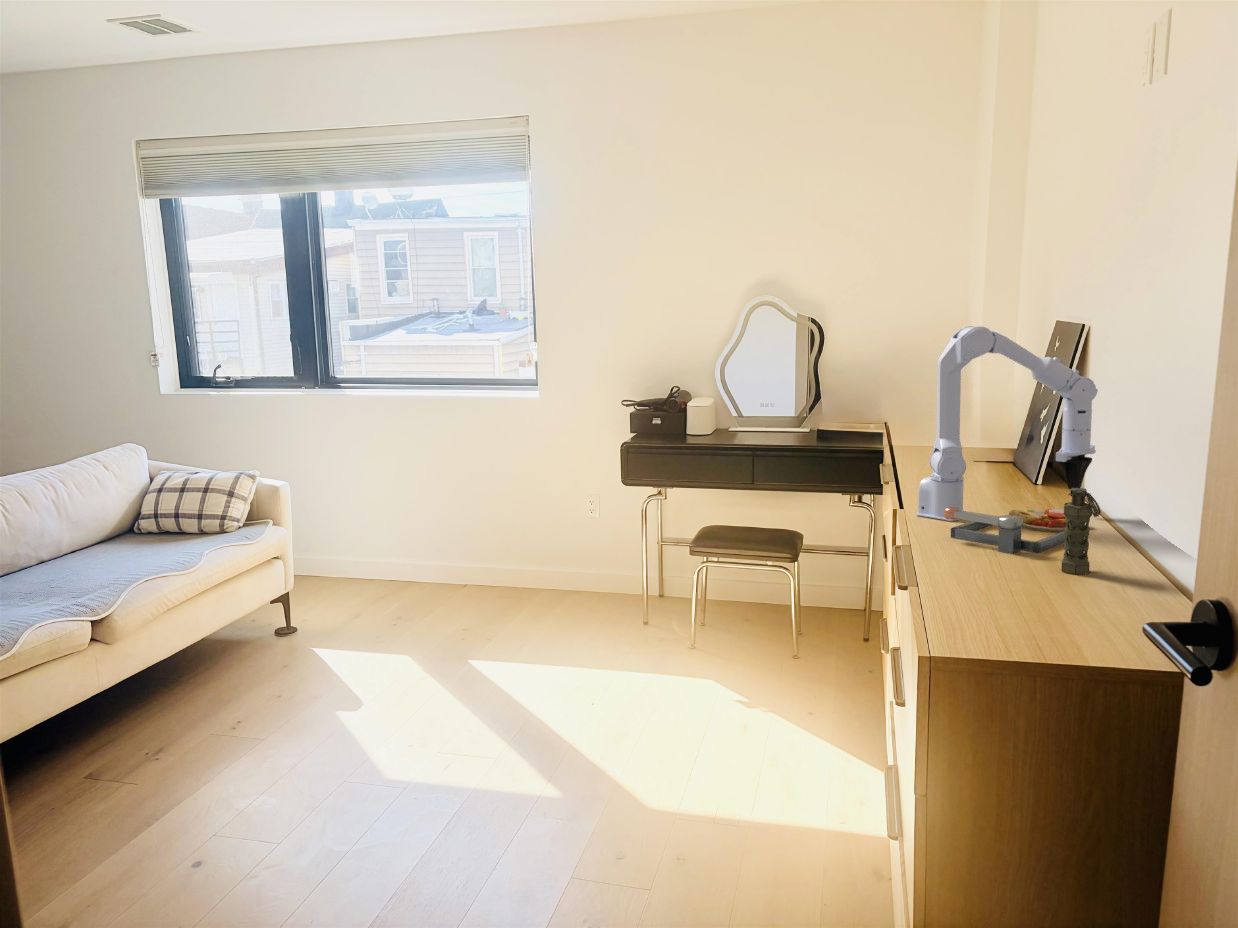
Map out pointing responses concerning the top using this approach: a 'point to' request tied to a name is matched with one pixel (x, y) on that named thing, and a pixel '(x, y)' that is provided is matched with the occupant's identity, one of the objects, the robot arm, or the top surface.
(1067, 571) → the grenade
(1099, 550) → the top surface
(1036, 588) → the top surface
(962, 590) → the top surface
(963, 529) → the tray
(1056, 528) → the toy food set
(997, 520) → the press arm
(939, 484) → the robot arm
